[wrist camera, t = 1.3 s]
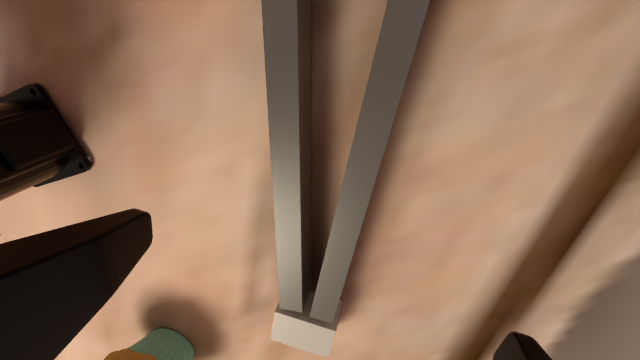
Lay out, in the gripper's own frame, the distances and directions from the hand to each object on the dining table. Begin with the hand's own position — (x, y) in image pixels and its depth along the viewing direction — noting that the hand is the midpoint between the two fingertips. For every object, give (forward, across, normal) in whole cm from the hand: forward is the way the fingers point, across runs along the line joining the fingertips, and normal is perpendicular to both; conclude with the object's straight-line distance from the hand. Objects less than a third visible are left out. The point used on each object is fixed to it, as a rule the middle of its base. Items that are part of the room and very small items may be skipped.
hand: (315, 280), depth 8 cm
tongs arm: (+12, +4, +1) cm, 13 cm away
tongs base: (+12, +1, +3) cm, 12 cm away
